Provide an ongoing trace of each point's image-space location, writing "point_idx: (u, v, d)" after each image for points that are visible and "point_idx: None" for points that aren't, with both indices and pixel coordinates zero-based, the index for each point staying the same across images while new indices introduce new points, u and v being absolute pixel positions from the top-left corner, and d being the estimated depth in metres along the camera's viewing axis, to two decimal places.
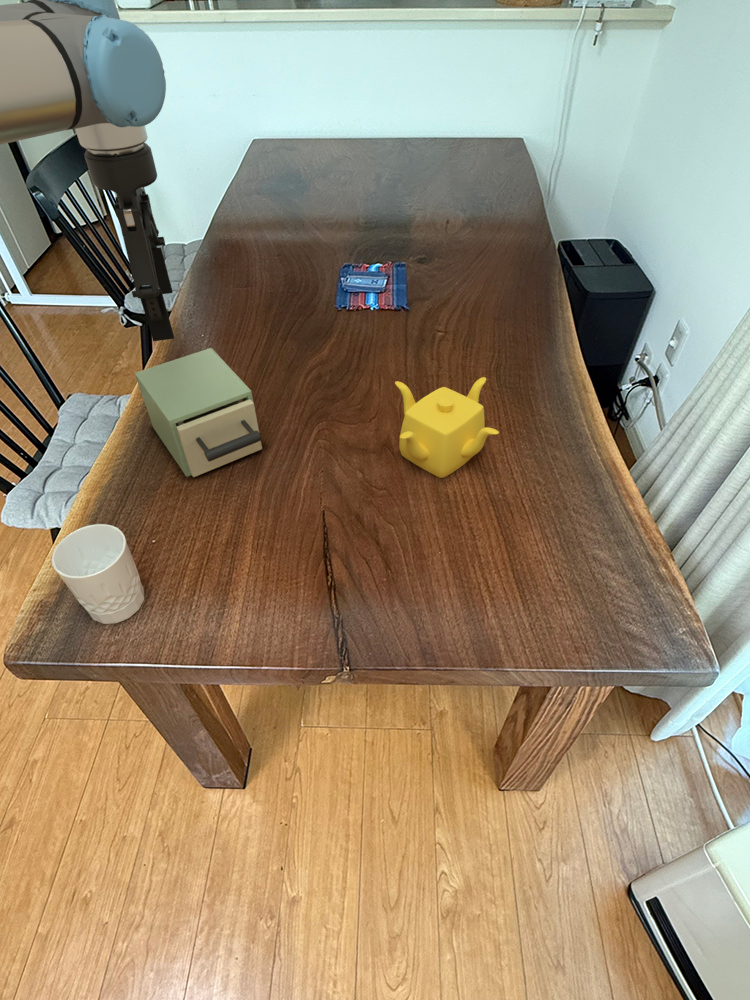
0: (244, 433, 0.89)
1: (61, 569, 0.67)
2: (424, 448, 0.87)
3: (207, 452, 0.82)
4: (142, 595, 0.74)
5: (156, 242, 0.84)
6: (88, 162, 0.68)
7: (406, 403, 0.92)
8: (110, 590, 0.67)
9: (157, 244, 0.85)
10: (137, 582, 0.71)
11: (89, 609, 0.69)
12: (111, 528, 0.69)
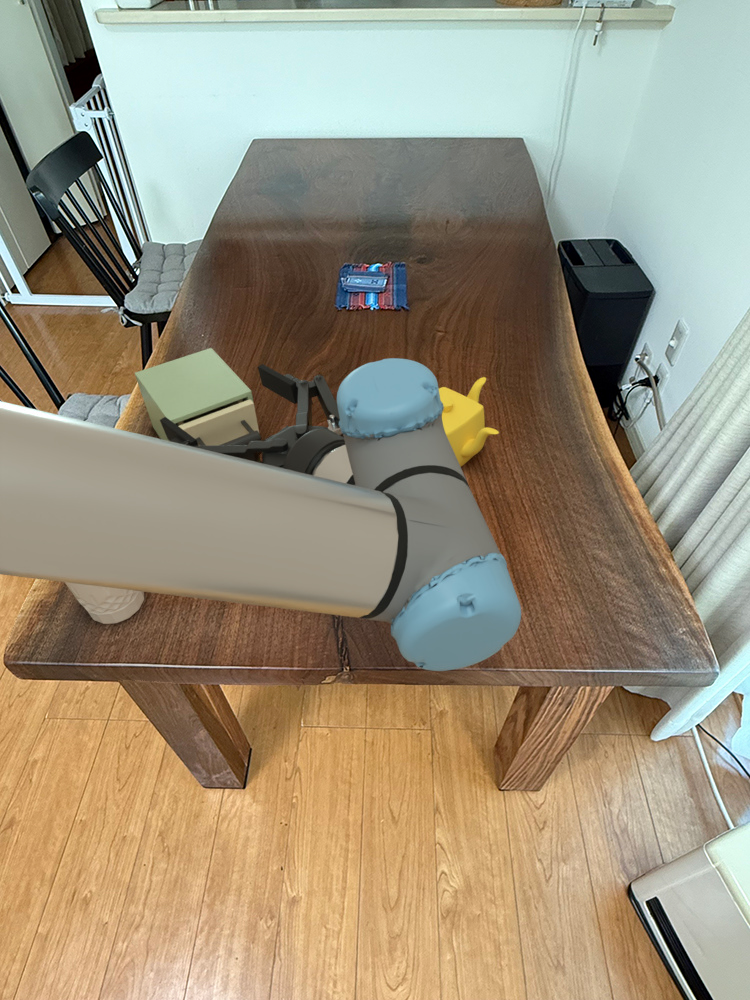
0: (244, 433, 0.89)
1: None
2: None
3: None
4: (142, 595, 0.74)
5: None
6: (309, 456, 0.56)
7: None
8: (110, 590, 0.67)
9: None
10: None
11: (89, 609, 0.69)
12: None
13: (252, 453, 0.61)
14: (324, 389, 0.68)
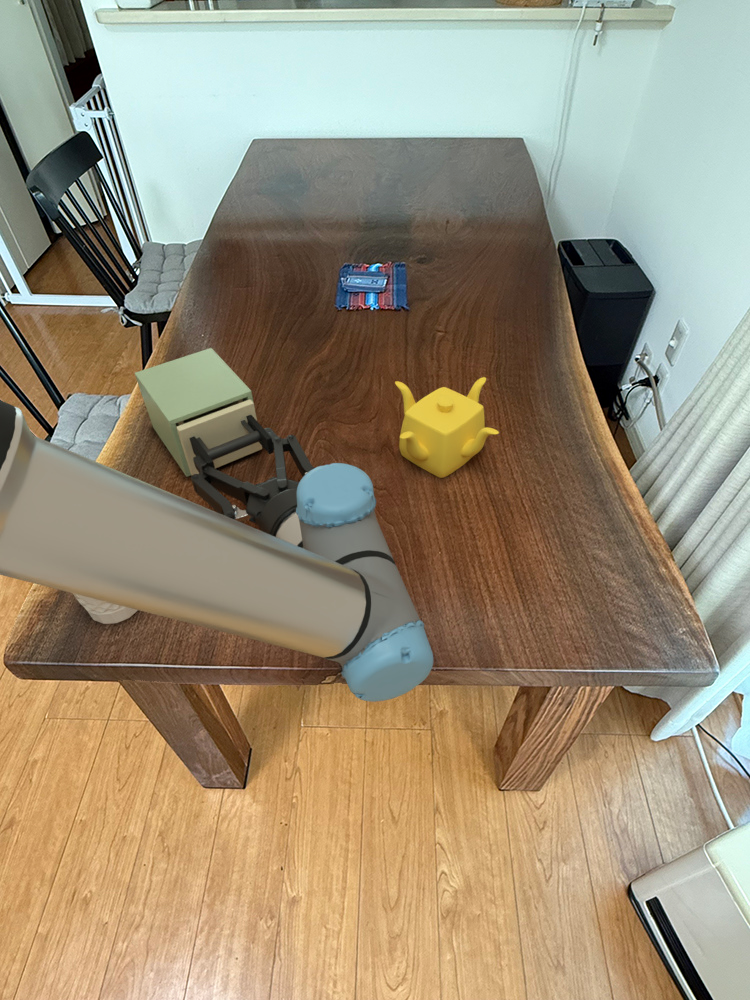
0: (244, 433, 0.89)
1: None
2: (424, 448, 0.87)
3: (207, 452, 0.82)
4: None
5: None
6: (279, 512, 0.70)
7: (406, 403, 0.92)
8: None
9: None
10: None
11: (89, 609, 0.69)
12: None
13: (243, 491, 0.76)
14: (297, 448, 0.82)
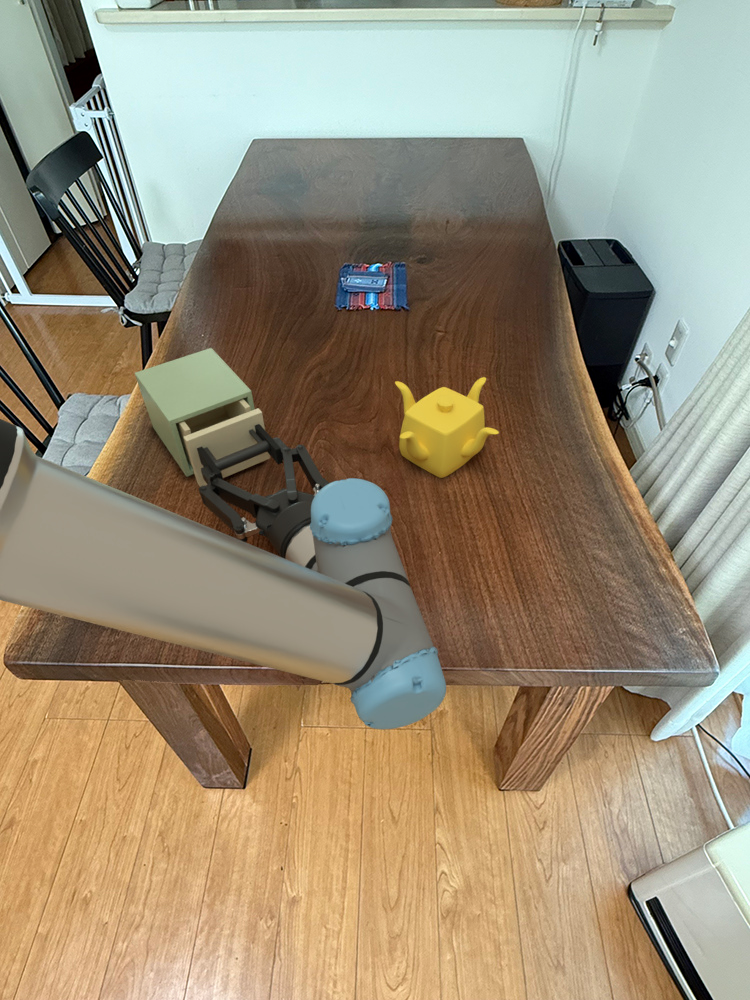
0: (252, 442, 0.88)
1: None
2: (424, 448, 0.87)
3: (215, 463, 0.80)
4: None
5: None
6: (290, 526, 0.69)
7: (406, 403, 0.92)
8: None
9: None
10: None
11: None
12: None
13: (252, 503, 0.75)
14: (307, 458, 0.80)
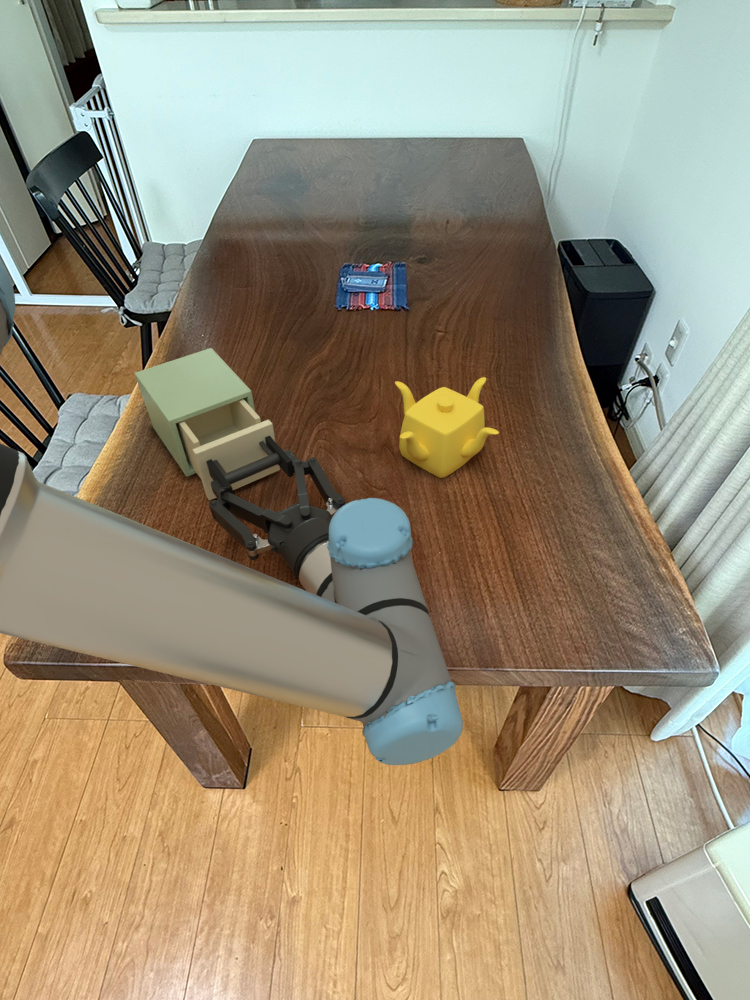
0: (262, 454, 0.86)
1: None
2: (424, 448, 0.87)
3: (225, 476, 0.78)
4: None
5: None
6: (304, 543, 0.67)
7: (406, 403, 0.92)
8: None
9: None
10: None
11: None
12: None
13: (264, 519, 0.73)
14: (319, 472, 0.78)
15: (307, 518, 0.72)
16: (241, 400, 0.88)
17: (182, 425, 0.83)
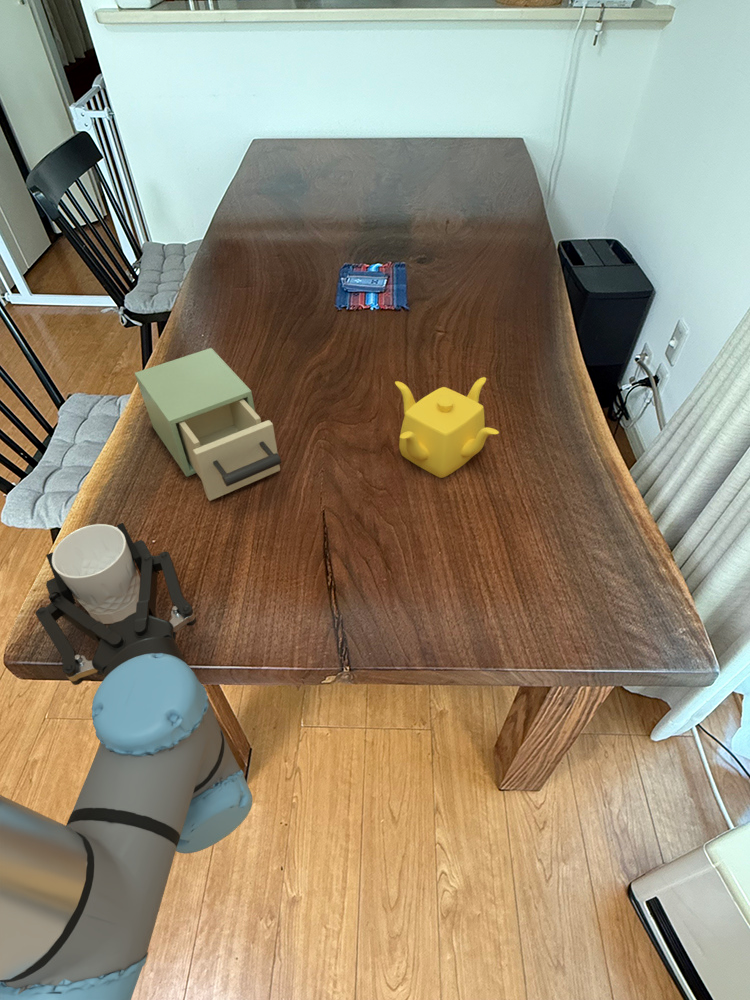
0: (262, 455, 0.86)
1: (61, 569, 0.67)
2: (424, 448, 0.87)
3: (225, 477, 0.78)
4: None
5: None
6: None
7: (406, 403, 0.92)
8: (110, 590, 0.67)
9: None
10: (137, 582, 0.71)
11: (89, 609, 0.69)
12: (111, 528, 0.69)
13: (93, 634, 0.63)
14: (169, 571, 0.68)
15: (142, 634, 0.62)
16: (241, 400, 0.87)
17: (182, 425, 0.83)
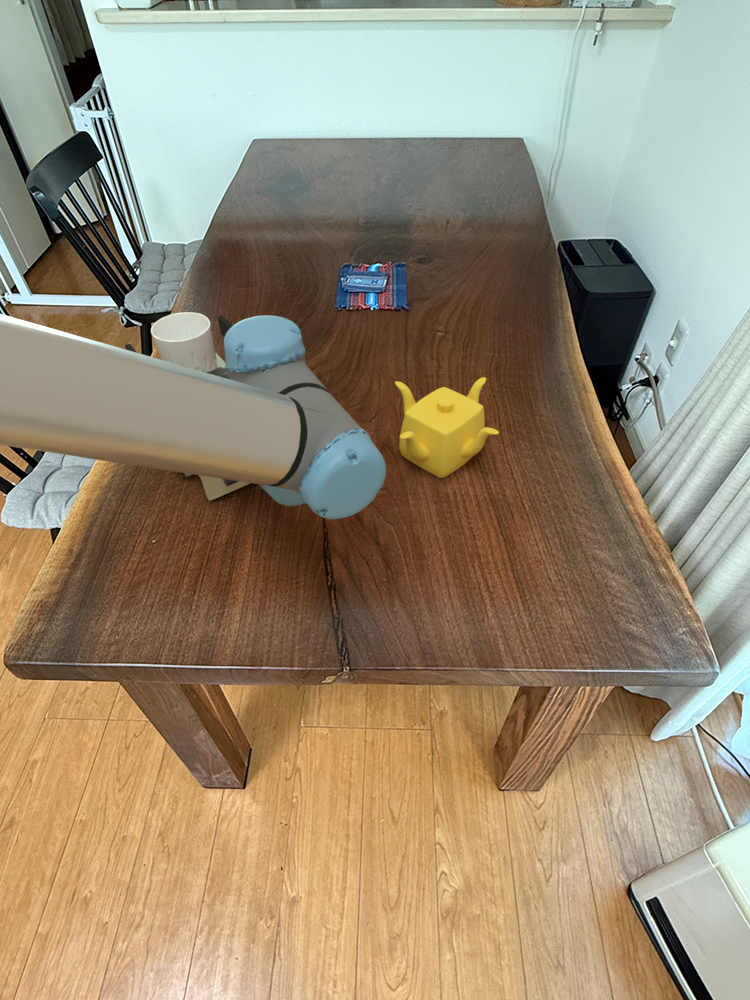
0: None
1: None
2: (424, 448, 0.87)
3: None
4: None
5: None
6: None
7: (406, 403, 0.92)
8: (198, 360, 0.81)
9: None
10: (216, 365, 0.85)
11: None
12: (196, 315, 0.83)
13: None
14: None
15: None
16: None
17: None
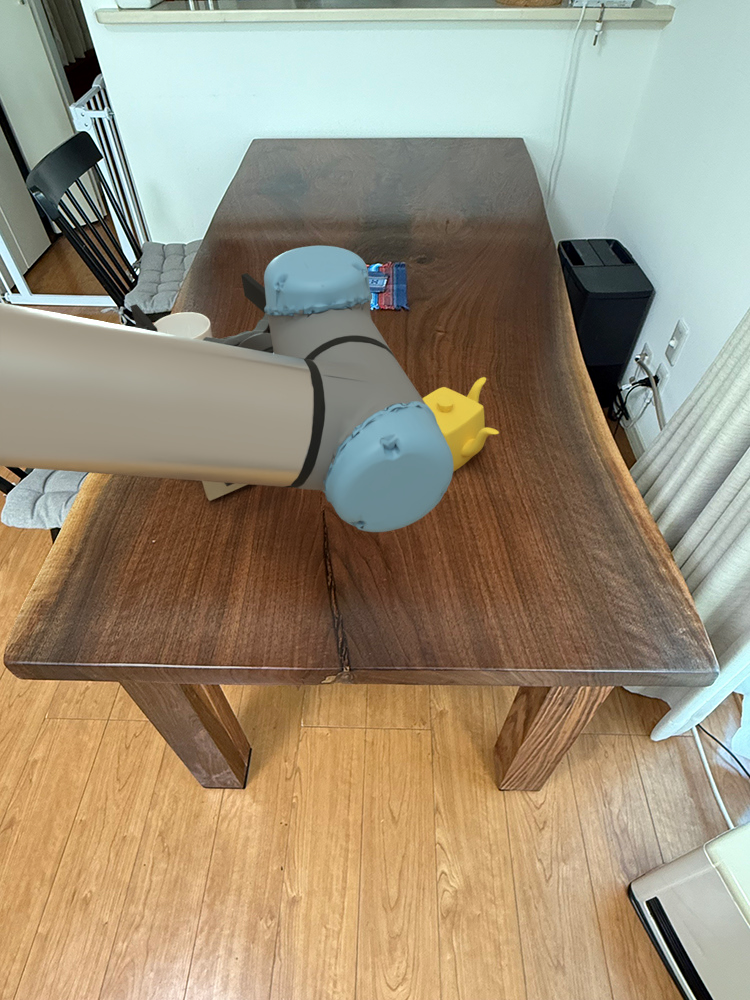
0: None
1: None
2: None
3: None
4: None
5: None
6: None
7: None
8: None
9: None
10: None
11: None
12: (196, 315, 0.83)
13: None
14: None
15: None
16: None
17: None
